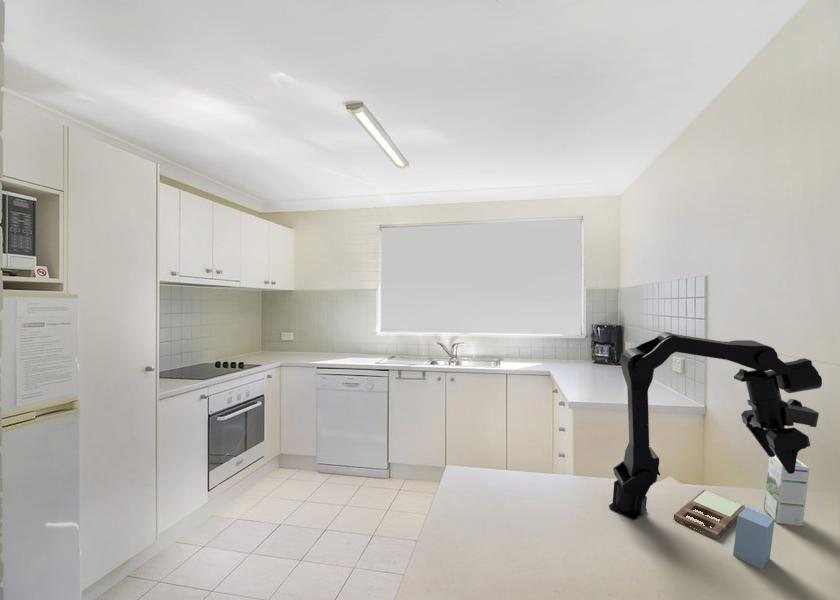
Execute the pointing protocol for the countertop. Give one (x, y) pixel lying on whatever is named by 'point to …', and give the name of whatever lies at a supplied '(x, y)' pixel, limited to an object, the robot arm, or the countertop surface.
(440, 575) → the countertop surface
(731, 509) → the board
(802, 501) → the syrup box
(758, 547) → the blue block
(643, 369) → the robot arm
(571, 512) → the countertop surface
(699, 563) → the countertop surface
